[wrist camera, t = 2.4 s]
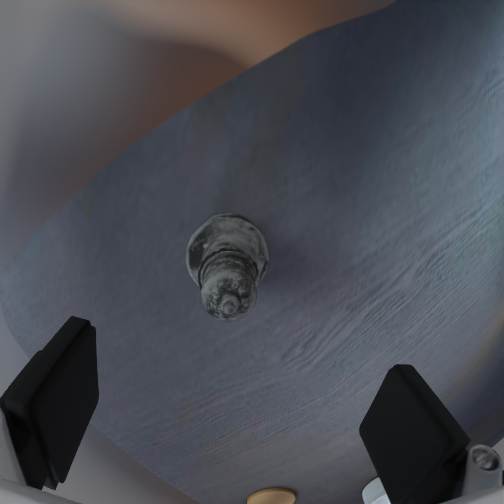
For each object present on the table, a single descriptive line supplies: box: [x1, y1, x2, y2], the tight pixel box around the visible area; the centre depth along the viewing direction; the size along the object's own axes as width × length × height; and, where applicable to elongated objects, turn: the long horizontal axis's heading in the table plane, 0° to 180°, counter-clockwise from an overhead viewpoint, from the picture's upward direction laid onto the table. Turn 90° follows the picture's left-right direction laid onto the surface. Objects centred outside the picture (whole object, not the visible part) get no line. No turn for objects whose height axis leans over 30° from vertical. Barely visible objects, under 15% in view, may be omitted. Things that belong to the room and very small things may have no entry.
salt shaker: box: [186, 213, 269, 321], centre depth 20 cm, size 6×6×12 cm
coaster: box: [247, 488, 295, 504], centre depth 36 cm, size 7×7×1 cm
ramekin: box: [362, 477, 391, 504], centre depth 37 cm, size 9×9×4 cm
